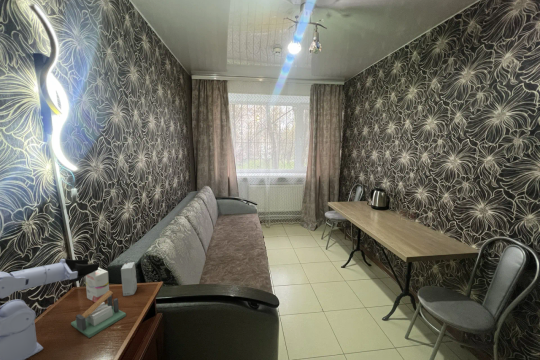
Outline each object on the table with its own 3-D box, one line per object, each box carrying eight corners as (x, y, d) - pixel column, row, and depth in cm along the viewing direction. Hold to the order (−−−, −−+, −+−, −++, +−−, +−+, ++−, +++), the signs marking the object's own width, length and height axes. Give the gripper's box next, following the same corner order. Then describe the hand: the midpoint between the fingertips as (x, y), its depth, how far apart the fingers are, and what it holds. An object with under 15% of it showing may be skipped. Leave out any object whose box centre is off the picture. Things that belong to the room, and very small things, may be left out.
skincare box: (134, 294, 100) (132, 267, 99) (122, 296, 99) (120, 269, 97) (137, 286, 106) (135, 261, 105) (126, 288, 105) (124, 262, 103)
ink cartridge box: (110, 297, 98) (108, 264, 96) (97, 304, 94) (94, 269, 92) (99, 292, 102) (97, 259, 100) (86, 298, 98) (83, 264, 96)
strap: (85, 318, 80) (84, 317, 79) (82, 316, 81) (81, 315, 80) (112, 293, 87) (111, 291, 87) (109, 291, 88) (108, 290, 88)
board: (89, 337, 77) (87, 321, 76) (71, 325, 82) (69, 309, 82) (126, 315, 87) (125, 300, 87) (108, 305, 93) (107, 291, 92)
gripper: (53, 267, 70) (103, 257, 82) (35, 258, 77) (84, 250, 89) (51, 291, 70) (101, 277, 82) (33, 279, 77) (82, 268, 89)
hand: (92, 264), depth 85 cm, fingers open, 7 cm apart
